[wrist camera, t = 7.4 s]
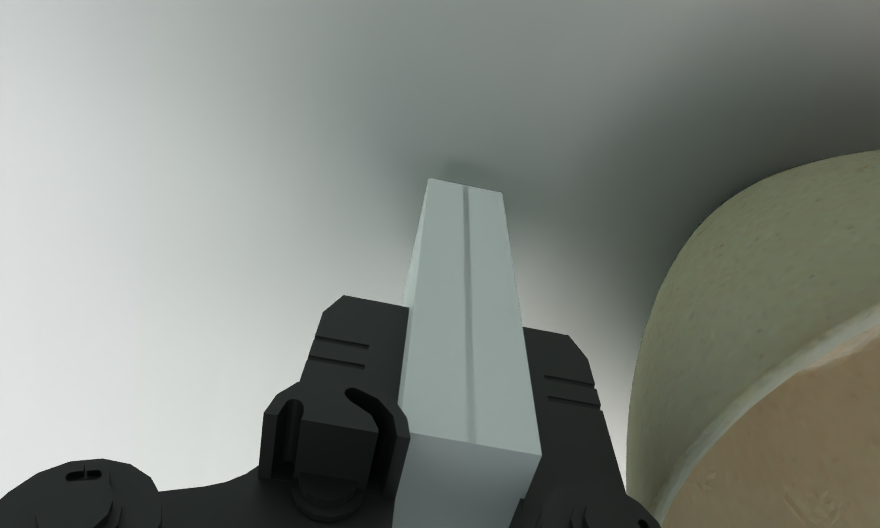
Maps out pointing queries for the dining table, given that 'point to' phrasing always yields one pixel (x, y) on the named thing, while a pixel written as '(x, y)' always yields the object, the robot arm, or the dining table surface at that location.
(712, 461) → the flower pot
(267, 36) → the dining table surface
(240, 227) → the dining table surface
